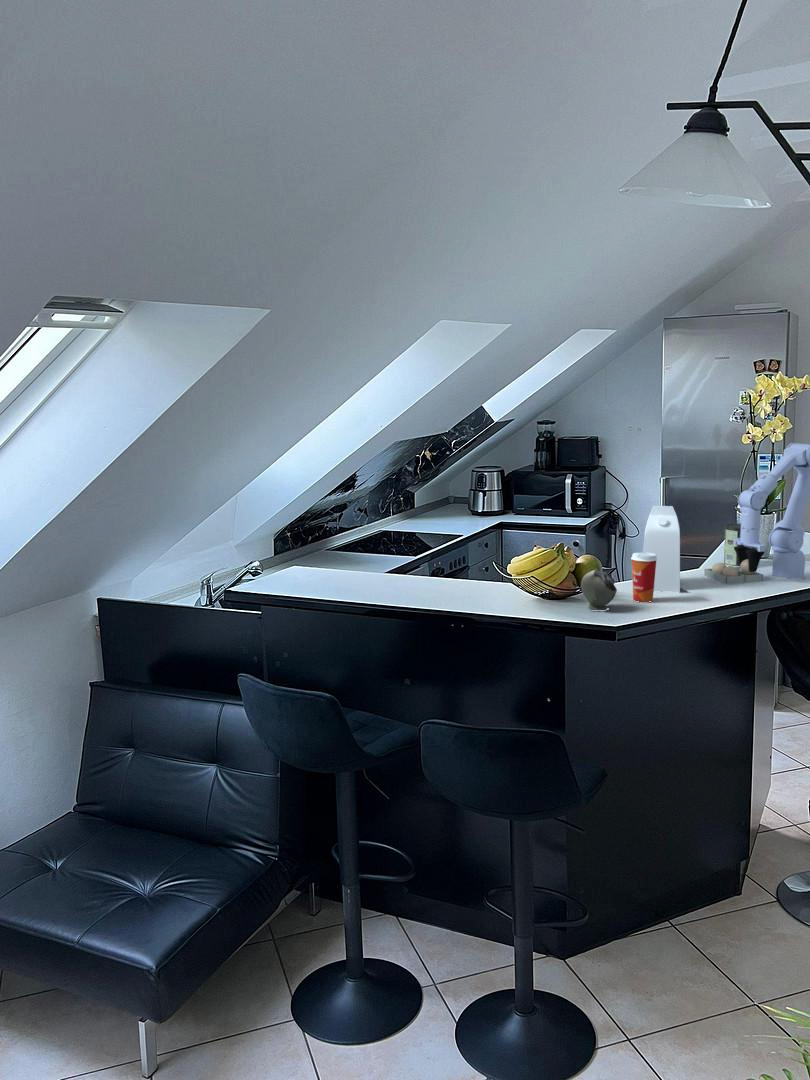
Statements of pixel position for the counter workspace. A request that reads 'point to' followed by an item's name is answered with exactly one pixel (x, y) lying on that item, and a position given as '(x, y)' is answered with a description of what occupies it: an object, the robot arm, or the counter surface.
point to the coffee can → (731, 544)
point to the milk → (664, 547)
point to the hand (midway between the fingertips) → (748, 570)
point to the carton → (734, 577)
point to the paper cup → (643, 576)
